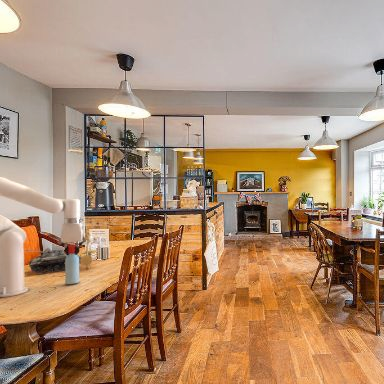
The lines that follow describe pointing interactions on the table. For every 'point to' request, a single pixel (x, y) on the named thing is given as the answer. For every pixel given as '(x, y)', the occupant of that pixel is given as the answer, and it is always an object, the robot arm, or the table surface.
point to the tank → (49, 261)
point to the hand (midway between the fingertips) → (72, 254)
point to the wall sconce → (87, 254)
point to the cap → (72, 249)
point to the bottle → (72, 268)
